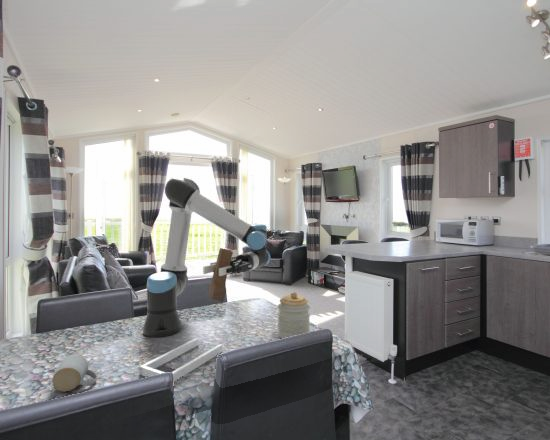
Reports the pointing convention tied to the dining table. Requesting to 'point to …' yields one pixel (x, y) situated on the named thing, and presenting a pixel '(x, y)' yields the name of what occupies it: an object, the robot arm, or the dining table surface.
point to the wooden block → (219, 282)
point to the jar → (293, 316)
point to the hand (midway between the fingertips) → (211, 271)
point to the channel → (150, 367)
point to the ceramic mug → (72, 373)
